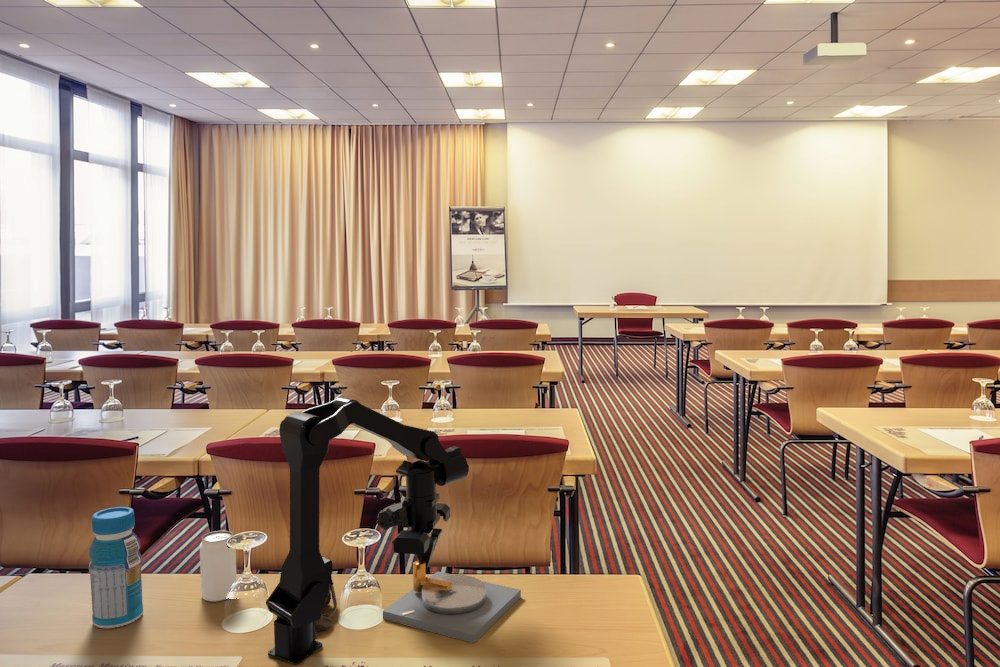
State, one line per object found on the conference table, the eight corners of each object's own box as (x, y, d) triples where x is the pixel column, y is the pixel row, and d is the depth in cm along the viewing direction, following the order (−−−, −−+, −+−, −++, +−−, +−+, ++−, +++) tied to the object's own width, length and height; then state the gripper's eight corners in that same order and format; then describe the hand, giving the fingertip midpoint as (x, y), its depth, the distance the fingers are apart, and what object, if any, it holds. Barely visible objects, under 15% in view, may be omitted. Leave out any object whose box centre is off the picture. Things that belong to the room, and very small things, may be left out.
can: (201, 591, 138) (198, 532, 137) (235, 585, 141) (233, 527, 140) (202, 605, 133) (199, 544, 132) (238, 598, 135) (236, 538, 134)
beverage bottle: (96, 635, 122) (90, 524, 120) (87, 617, 128) (82, 511, 126) (149, 620, 127) (144, 513, 125) (138, 603, 133) (133, 501, 132)
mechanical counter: (351, 572, 135) (300, 561, 135) (336, 596, 122) (280, 584, 122) (342, 609, 135) (292, 598, 135) (327, 637, 122) (271, 625, 122)
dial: (496, 591, 134) (495, 563, 134) (467, 619, 123) (467, 588, 123) (429, 577, 140) (429, 550, 140) (397, 603, 129) (396, 574, 129)
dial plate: (473, 643, 119) (473, 633, 119) (382, 618, 127) (382, 609, 127) (520, 597, 136) (520, 588, 136) (437, 578, 144) (437, 570, 144)
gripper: (398, 474, 145) (401, 546, 147) (363, 507, 127) (367, 588, 129) (449, 477, 143) (452, 549, 145) (421, 511, 125) (425, 593, 127)
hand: (424, 568), depth 137 cm, fingers closed
